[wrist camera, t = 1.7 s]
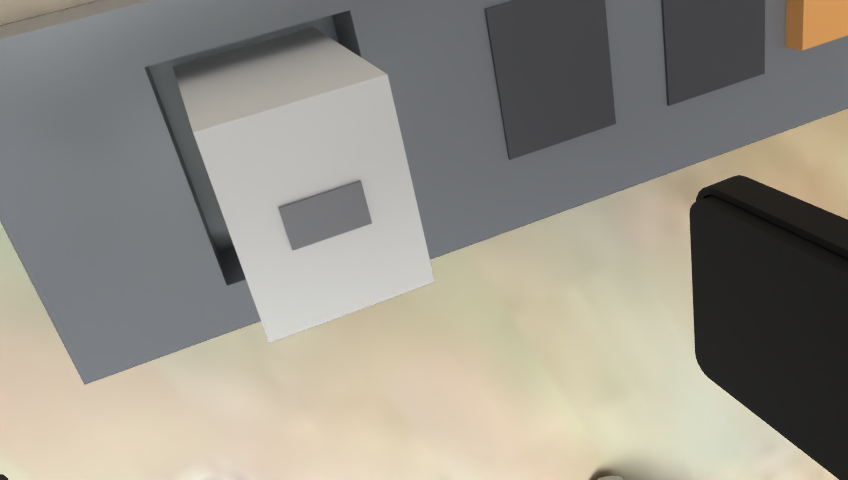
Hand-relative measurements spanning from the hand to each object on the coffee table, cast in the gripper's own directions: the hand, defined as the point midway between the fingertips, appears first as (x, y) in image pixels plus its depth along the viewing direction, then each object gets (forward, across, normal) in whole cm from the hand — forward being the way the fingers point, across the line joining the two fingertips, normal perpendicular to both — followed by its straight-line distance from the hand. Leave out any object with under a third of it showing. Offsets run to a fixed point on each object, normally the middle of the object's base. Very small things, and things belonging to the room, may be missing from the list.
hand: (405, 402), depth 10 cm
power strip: (+14, -7, 0) cm, 16 cm away
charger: (+14, -1, 0) cm, 14 cm away
